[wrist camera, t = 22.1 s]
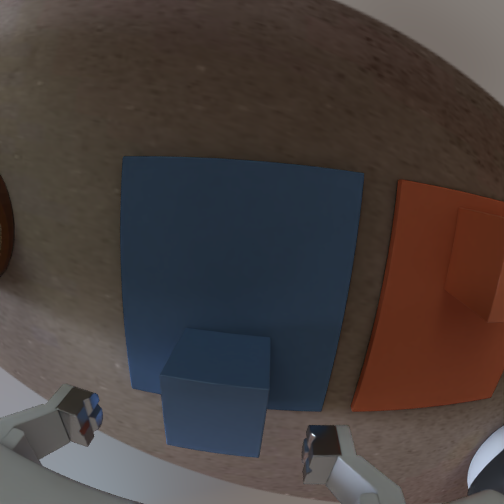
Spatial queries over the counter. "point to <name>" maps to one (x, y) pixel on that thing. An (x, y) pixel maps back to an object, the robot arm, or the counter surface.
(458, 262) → the terracotta block
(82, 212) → the counter surface
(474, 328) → the terracotta mat
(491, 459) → the pump dispenser
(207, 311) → the blue mat
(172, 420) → the slate block
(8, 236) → the food container
